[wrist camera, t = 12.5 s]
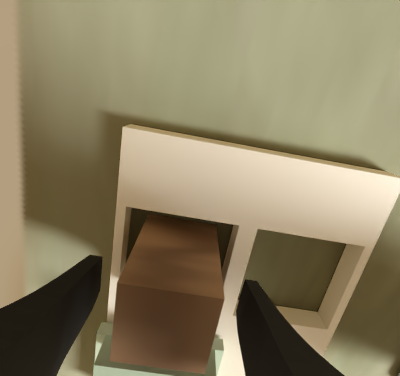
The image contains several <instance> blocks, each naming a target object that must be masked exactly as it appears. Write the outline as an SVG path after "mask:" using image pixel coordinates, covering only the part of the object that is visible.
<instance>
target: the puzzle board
mask: <svg viewBox="0 0 400 376" xmlns="http://www.w3.org/2000/svg"><path fill="white" fill-rule="evenodd" d="M399 193H400V177H399V176H397V175H394V174H392V173H389V172H386V171H381V170H376V169H370V168H365V167H359V166H354V165H349V164H343V163H338V162H332V161H327V160H322V159H316V158H311V157H306V156H300V155H295V154H289V153H284V152H279V151H273V150H268V149H262V148H257V147H252V146H246V145H241V144H236V143H230V142H225V141H219V140H214V139H209V138H203V137H198V136H192V135H187V134H182V133H176V132H171V131H165V130H160V129H155V128H149V127H144V126H139V125H133V124H129V125H126V126H124V127H123V130H122V142H121V154H120V166H119V178H118V190H117V202H116V214H115V227H114V239H113V251H112V263H111V275H110V287H109V299H108V311H107V323H113V320H114V310H115V299H116V288H117V282H118V280H119V277H120V275H121V273H122V271H123V269H124V267H125V264H126V257H127V247H128V238H129V228H130V219H131V209H132V208H137V209H143V210H149V211H155V212H161V213H167V214H173V215H179V216H185V217H191V218H197V219H203V220H209V221H215V222H221V223H227V224H233V228H232V232H231V236H230V240H229V244H228V248H227V252H226V256H225V260H224V264H223V268H222V281H223V289H224V298H225V300H224V304H223V307H222V311H221V315H220V318H219V322H218V326H217V330H216V333H215V337H214V338H218V339H223V345H224V353H223V356H222V360H221V363H220V367H219V370H218V374H217V376H245V370H244V365H243V360H242V354H241V349H240V344H239V338H238V333H237V321H236V309H237V305H238V302H239V300H237V299H238V296H239V292H240V289H241V285H242V282H243V278H244V275H245V271H246V268H247V264H248V261H249V257H250V254H251V250H252V247H253V244H254V240H255V237H256V233H257V230H258V229H262V230H268V231H274V232H280V233H286V234H292V235H298V236H304V237H310V238H316V239H322V240H328V241H334V242H340V243H346V247H345V249H344V251H343V254H342V256H341V259H340V261H339V263H338V266H337V268H336V270H335V273H334V275H333V277H332V280H331V282H330V284H329V287H328V289H327V292H326V294H325V296H324V299H323V301H322V303H321V306H320V308H319V310H318V312H315V311H308V310H302V309H295V308H288V307H282V306H276V308H277V309H278V310H279V311H280V313H281V314H282V315H283V316H284V318H285V319H286V320H287V321H288V322H289V323H290V325H291V326H292V327H293V328H294V329H295V330H296V331H297V333H298V334H299V335H300V336H301V337H302V338H303V339H304V340H305V341H306V342H307V343H308V344H309V345H310V346H311V347H312V348H313V349H314V350H315V351H316V352H317V353H319V354H320V355H321V356H322V357H323V356H324V354H325V352H326V349H327V347H328V345H329V343H330V341H331V339H332V337H333V334H334V332H335V330H336V328H337V326H338V324H339V322H340V319H341V317H342V315H343V313H344V311H345V309H346V307H347V304H348V302H349V300H350V298H351V296H352V294H353V292H354V289H355V287H356V285H357V283H358V281H359V279H360V277H361V274H362V272H363V270H364V268H365V266H366V264H367V262H368V259H369V257H370V255H371V253H372V251H373V249H374V247H375V244H376V242H377V240H378V238H379V236H380V234H381V232H382V229H383V227H384V225H385V223H386V221H387V219H388V217H389V214H390V212H391V210H392V208H393V206H394V204H395V202H396V199H397V197H398V195H399Z"/></svg>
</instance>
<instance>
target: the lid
mask: <svg viewBox="0 0 400 376" xmlns="http://www.w3.org/2000/svg"><path fill="white" fill-rule="evenodd" d="M112 331H113V323H106V322H101V324H100V326H99V329H98V331H97V333H96V347H95V362H94V368H93V376H217V374H218V370H219V367H220V363H221V360H222V356H223V353H224V345H223V339H218V338H214V341H213V345H212V348H211V352H210V356H209V360H208V363H207V367H206V371H205V374H201V373H194V372H186V371H179V370H172V369H164V368H157V367H149V366H142V365H135V364H127V363H120V362H112V361H110V353H111V342H112Z"/></svg>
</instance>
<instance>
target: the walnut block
mask: <svg viewBox="0 0 400 376" xmlns="http://www.w3.org/2000/svg"><path fill="white" fill-rule="evenodd" d="M224 300H225V298H224V289H223V281H222V272H221V263H220V254H219V246H218V237H217V228H216V225H215V224H209V223H203V222H197V221H191V220H185V219H179V218H173V217H167V216H161V215H155V214H148V216H147V218H146V221H145V223H144V225H143V227H142V229H141V232H140V234H139V236H138V238H137V240H136V242H135V245H134V247H133V249H132V251H131V253H130V256H129V258H128V260H127V262H126V264H125V267H124V269H123V271H122V273H121V275H120V277H119V280H118V282H117V288H116V299H115V310H114V320H113V331H112V342H111V353H110V361H112V362H120V363H127V364H135V365H142V366H149V367H157V368H164V369H172V370H179V371H186V372H194V373H201V374H205V371H206V367H207V363H208V360H209V356H210V352H211V348H212V345H213V341H214V337H215V333H216V330H217V326H218V322H219V318H220V315H221V311H222V307H223V304H224Z"/></svg>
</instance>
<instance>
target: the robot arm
mask: <svg viewBox="0 0 400 376" xmlns="http://www.w3.org/2000/svg"><path fill="white" fill-rule="evenodd" d="M101 270H102V257H100V256H93V255H89V256H88V257H86V258H85V259H83V260H82V261H80V262H79V263H78V264H76V265H75V266H73V267H72V268H70V269H69V270H68V271H66V272H65V273H63V274H62V275H60V276H59V277H57V278H56V279H54V280H53V281H51V282H49V283H48V284H46V285H44V286H43V287H41V288H40V289H38V290H36V291H34V292H33V293H31V294H29V295H27V296H25V297H23V298H21V299H19V300H17V301H15V302H14V303H11V304H9V305H7V306H5V307H3V308H1V309H0V376H56V375H57V373H58V371H59V369H60V367H61V365H62V363H63V361H64V359H65V357H66V355H67V353H68V351H69V350H70V348H71V346H72V344H73V343H74V341H75V339H76V337H77V336H78V334H79V332H80V330H81V329H82V327H83V325H84V323H85V322H86V320H87V318H88V316H89V314H90V313H91V311H92V309H93V306H94V304H95V302H96V299H97V297H98V294H99V292H100V285H101ZM236 321H237V333H238V338H239V344H240V349H241V354H242V360H243V365H244V370H245V376H344V375H343V374H342V373H341V372H339V371H338V370H337V369H336V368H334V367H333V366H332V365H331V364H330V363H329V362H328V361H326V360H325V359H324V358H323V357H322V356H321V355H320V354H319V353H317V352H316V351H315V350H314V349H313V348H312V347H311V346H310V345H309V344H308V343H307V342H306V341H305V340H304V339H303V338H302V337H301V336H300V335H299V334H298V333H297V331H296V330H295V329H294V328H293V327H292V326H291V325H290V323H289V322H288V321H287V320H286V319H285V318H284V316H283V315H282V314H281V313H280V311H279V310H278V309H277V308H276V306H275V305H274V304H273V302H272V301H271V300H270V298H269V297H268V296H267V294H266V293H265V292H264V290H263V289H262V287H261V286H260V285H259V283H258V282H257V281H252V280H246V279H245V281H244V285H243V288H242V292H241V295H240V299H239V302H238V305H237V309H236ZM398 376H400V373H399V375H398Z"/></svg>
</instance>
